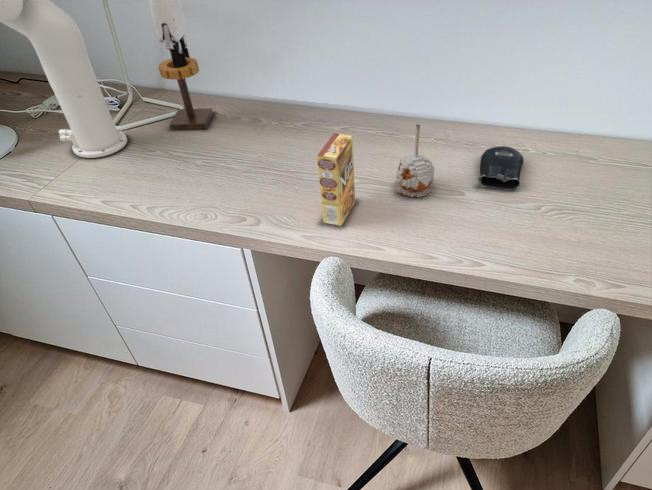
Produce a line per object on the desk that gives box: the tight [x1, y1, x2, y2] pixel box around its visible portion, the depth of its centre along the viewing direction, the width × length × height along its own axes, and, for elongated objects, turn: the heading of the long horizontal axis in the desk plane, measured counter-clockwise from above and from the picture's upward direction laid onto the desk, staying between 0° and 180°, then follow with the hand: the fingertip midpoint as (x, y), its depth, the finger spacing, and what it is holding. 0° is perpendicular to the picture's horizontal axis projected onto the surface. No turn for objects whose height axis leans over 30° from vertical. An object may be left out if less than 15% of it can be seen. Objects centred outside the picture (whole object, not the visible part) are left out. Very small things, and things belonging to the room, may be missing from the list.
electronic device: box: [477, 145, 524, 191], centre depth 110 cm, size 9×6×15 cm
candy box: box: [316, 133, 356, 227], centre depth 95 cm, size 9×4×15 cm, turn 162°
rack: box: [169, 78, 214, 131], centre depth 127 cm, size 9×9×12 cm
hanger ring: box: [158, 57, 200, 81], centre depth 122 cm, size 9×9×2 cm
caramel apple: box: [395, 122, 435, 198], centre depth 101 cm, size 8×8×15 cm
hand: (183, 66), depth 125 cm, fingers closed on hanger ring, 2 cm apart
